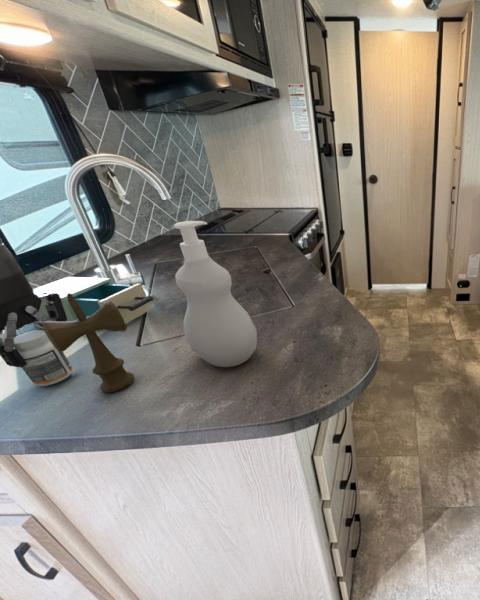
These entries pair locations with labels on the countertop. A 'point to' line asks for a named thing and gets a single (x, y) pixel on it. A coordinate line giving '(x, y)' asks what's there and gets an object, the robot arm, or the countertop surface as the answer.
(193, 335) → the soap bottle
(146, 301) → the drawer
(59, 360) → the pill bottle
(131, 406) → the countertop surface
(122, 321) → the kendama
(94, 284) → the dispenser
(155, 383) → the countertop surface
